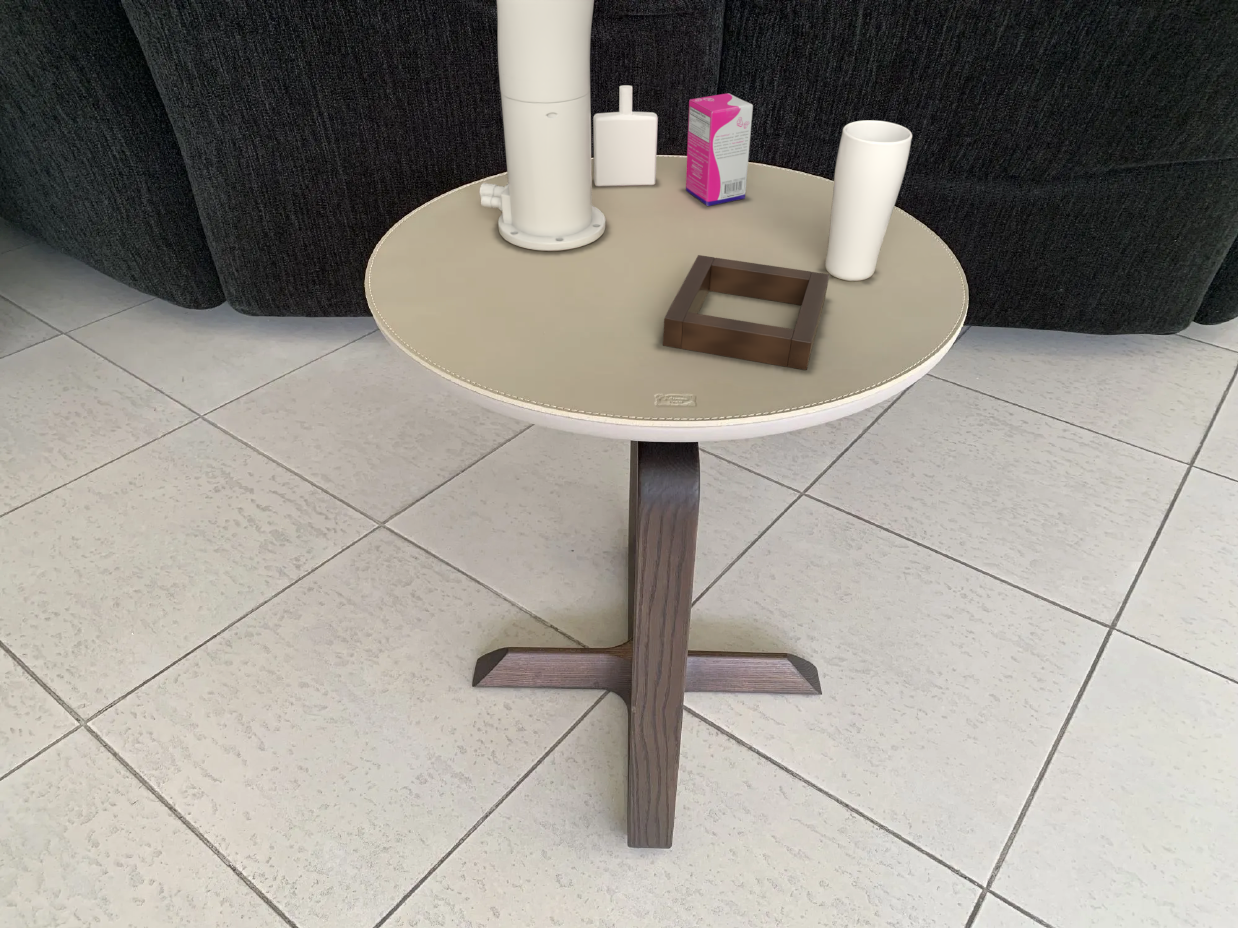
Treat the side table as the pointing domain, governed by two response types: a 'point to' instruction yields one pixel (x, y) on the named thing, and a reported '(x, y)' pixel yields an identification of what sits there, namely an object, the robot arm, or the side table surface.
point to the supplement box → (718, 148)
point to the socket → (742, 336)
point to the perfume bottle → (625, 145)
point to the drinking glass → (864, 195)
